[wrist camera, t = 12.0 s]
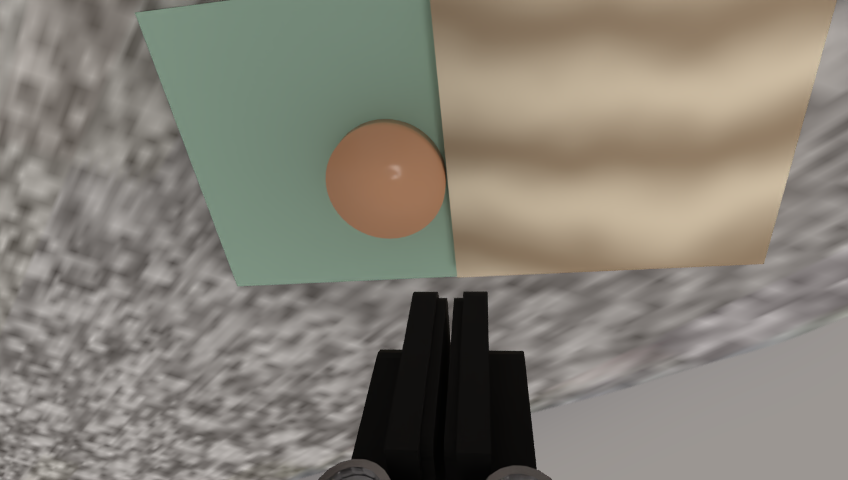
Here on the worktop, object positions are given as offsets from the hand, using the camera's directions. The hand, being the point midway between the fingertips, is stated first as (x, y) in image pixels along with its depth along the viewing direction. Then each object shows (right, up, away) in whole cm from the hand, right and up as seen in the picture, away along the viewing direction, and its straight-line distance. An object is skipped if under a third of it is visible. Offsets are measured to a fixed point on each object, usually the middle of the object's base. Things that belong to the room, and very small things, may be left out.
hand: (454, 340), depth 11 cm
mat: (-7, +7, +18) cm, 21 cm away
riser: (+10, +8, +16) cm, 20 cm away
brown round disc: (-3, +6, +18) cm, 19 cm away
